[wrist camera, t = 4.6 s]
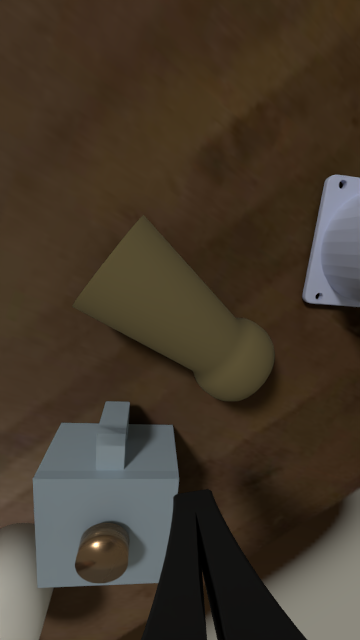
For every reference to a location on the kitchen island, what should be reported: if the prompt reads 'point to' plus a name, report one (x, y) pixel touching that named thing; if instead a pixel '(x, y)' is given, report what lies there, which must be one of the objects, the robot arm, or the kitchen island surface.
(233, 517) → the kitchen island surface
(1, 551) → the white pillar candle
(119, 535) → the plunger
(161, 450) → the blue box with knob
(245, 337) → the cork
